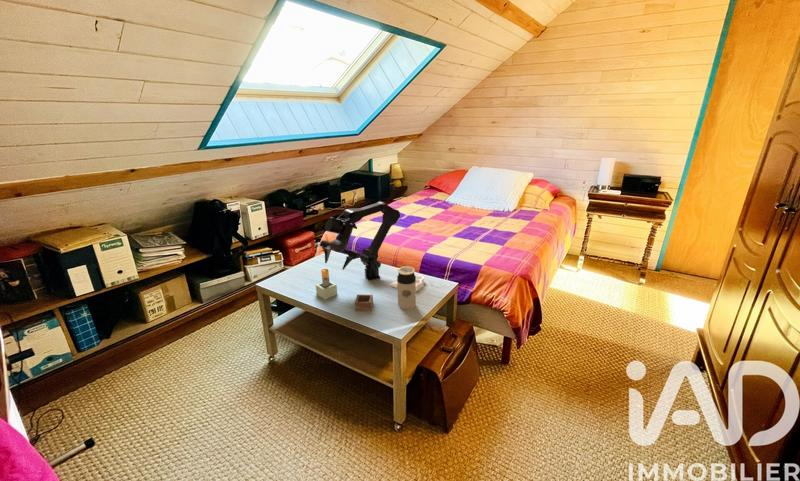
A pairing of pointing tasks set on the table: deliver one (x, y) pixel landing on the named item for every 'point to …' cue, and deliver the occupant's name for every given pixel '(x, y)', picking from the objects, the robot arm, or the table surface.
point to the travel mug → (406, 288)
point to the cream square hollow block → (326, 290)
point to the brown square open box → (363, 303)
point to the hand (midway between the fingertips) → (334, 266)
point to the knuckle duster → (418, 282)
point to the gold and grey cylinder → (325, 278)
